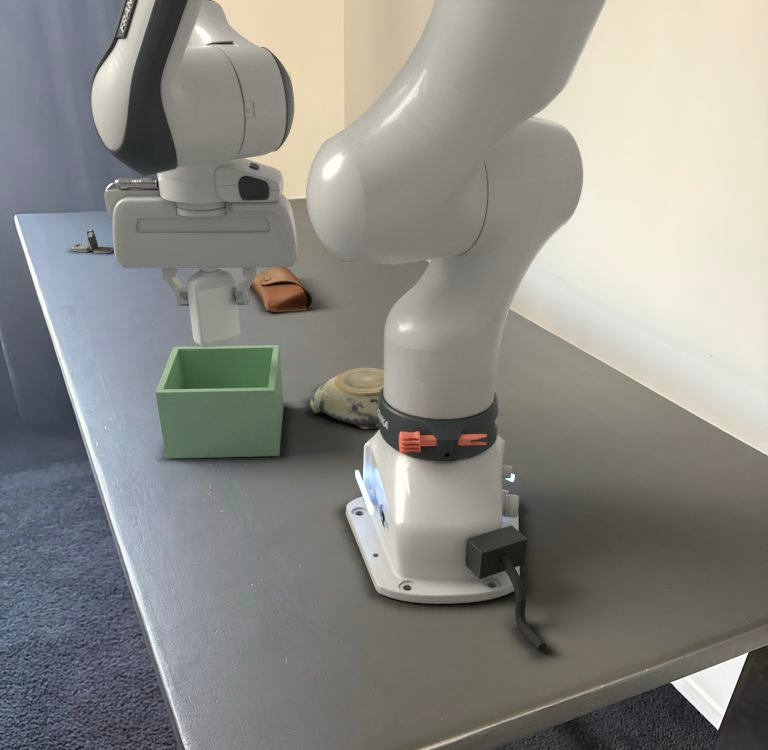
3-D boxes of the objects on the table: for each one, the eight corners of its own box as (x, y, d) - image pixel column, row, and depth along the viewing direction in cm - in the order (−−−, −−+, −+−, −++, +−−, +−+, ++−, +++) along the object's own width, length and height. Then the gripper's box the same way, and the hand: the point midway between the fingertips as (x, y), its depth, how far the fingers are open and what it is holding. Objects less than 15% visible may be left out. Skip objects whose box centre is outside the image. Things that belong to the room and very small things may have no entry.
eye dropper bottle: (242, 345, 94) (233, 242, 87) (194, 349, 93) (180, 245, 86) (240, 331, 97) (230, 231, 91) (193, 335, 96) (180, 234, 90)
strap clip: (71, 251, 167) (66, 231, 164) (77, 247, 169) (73, 227, 167) (109, 254, 166) (105, 233, 163) (115, 249, 168) (111, 229, 166)
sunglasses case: (241, 280, 150) (257, 248, 148) (274, 295, 154) (289, 264, 152) (266, 312, 136) (283, 277, 134) (301, 327, 140) (318, 293, 138)
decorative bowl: (301, 387, 113) (323, 435, 101) (300, 363, 111) (322, 408, 99) (402, 378, 117) (435, 422, 104) (403, 354, 115) (436, 396, 102)
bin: (279, 456, 97) (274, 390, 92) (166, 458, 96) (155, 392, 91) (283, 406, 108) (279, 345, 103) (182, 408, 107) (173, 346, 102)
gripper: (94, 184, 81) (117, 314, 89) (294, 184, 83) (300, 312, 91) (107, 171, 87) (128, 295, 94) (295, 171, 88) (301, 293, 96)
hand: (214, 304), depth 93 cm, fingers closed on eye dropper bottle, 5 cm apart
